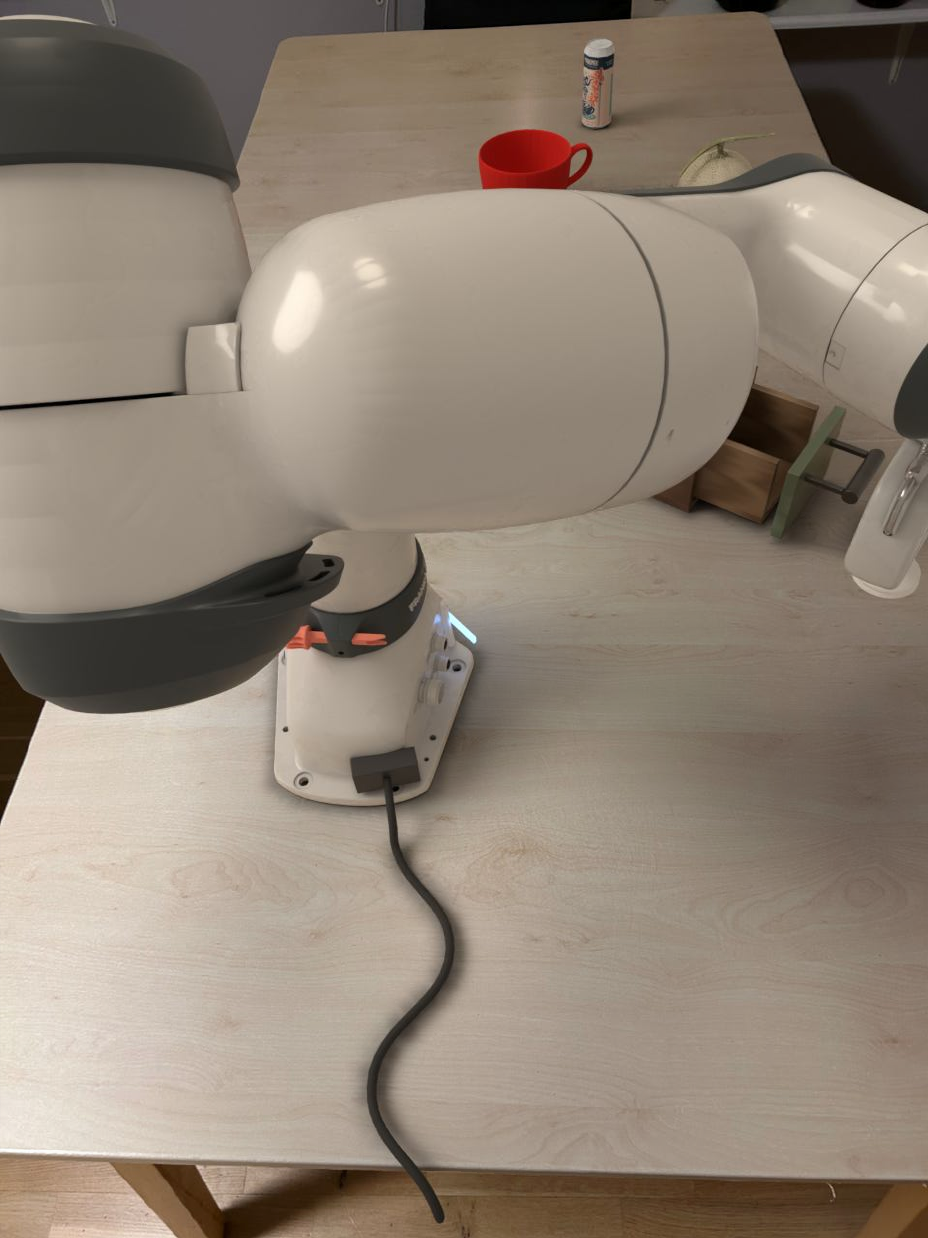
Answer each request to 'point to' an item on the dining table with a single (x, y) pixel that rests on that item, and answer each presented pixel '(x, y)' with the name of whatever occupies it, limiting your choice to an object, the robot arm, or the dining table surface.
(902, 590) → the chess piece
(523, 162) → the ceramic cup
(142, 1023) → the dining table surface
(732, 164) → the fruit
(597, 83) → the white labeled bottle
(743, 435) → the drawer
